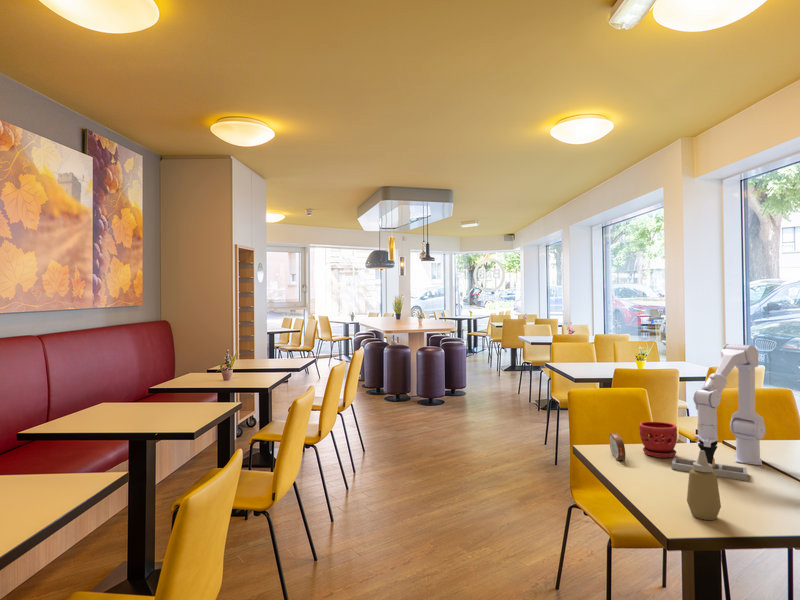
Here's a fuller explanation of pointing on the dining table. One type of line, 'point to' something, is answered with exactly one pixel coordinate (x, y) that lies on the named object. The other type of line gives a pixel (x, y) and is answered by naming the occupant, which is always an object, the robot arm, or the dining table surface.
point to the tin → (617, 446)
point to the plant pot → (658, 438)
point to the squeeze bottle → (703, 490)
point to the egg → (713, 463)
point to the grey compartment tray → (718, 470)
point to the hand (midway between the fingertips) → (708, 462)
